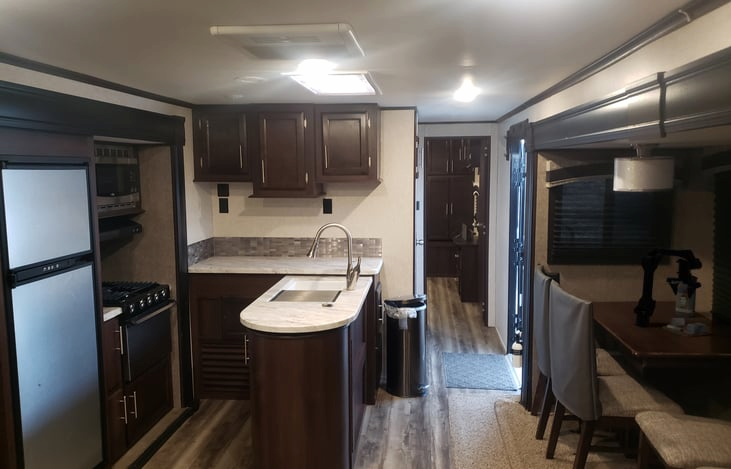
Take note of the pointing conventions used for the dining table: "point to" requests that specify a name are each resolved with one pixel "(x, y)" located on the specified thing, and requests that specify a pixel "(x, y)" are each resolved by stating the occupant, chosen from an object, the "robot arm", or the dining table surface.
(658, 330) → the dining table surface
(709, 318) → the dining table surface
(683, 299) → the liquor
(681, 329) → the gauge base
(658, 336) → the dining table surface
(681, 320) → the push plate
